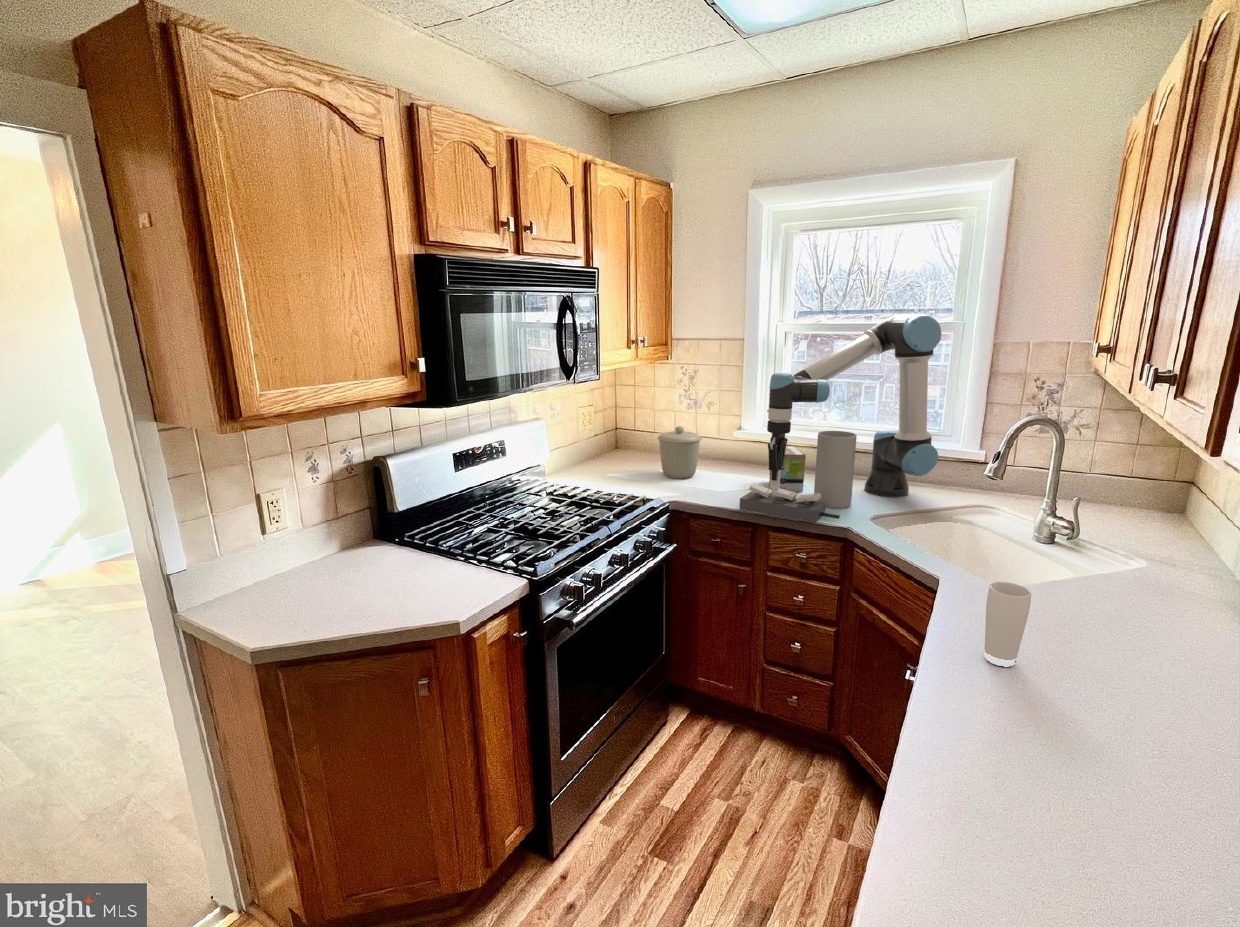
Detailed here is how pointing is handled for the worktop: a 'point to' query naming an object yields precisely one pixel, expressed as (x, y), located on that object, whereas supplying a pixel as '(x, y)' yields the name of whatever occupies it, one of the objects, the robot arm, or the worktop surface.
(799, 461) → the tea box
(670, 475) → the canister
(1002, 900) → the worktop surface
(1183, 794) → the worktop surface
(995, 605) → the drinking glass
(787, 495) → the rocker
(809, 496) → the rocker
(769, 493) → the rocker
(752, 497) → the power strip
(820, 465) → the cylinder vase
